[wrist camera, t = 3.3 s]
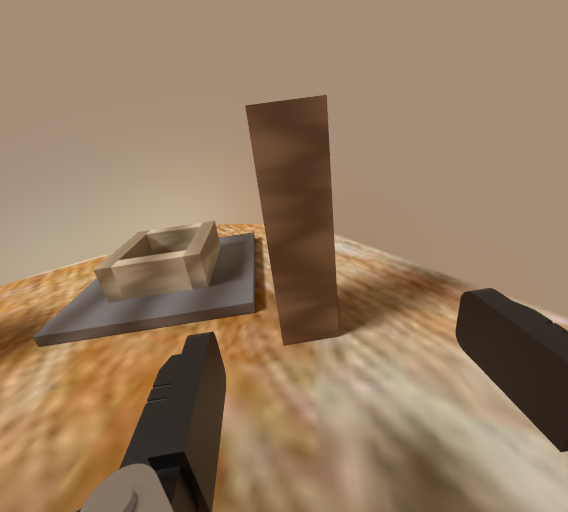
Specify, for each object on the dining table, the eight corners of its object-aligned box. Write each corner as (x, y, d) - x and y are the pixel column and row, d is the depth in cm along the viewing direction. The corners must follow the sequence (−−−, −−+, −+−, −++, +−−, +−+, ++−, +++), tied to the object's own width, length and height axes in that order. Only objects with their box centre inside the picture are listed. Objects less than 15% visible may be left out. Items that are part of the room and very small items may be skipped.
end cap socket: (38, 346, 23) (9, 300, 21) (128, 257, 39) (116, 227, 38) (255, 312, 24) (245, 264, 22) (255, 238, 40) (249, 208, 38)
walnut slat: (283, 345, 20) (245, 105, 14) (278, 305, 24) (247, 112, 18) (339, 336, 20) (326, 94, 14) (323, 298, 24) (308, 104, 18)
